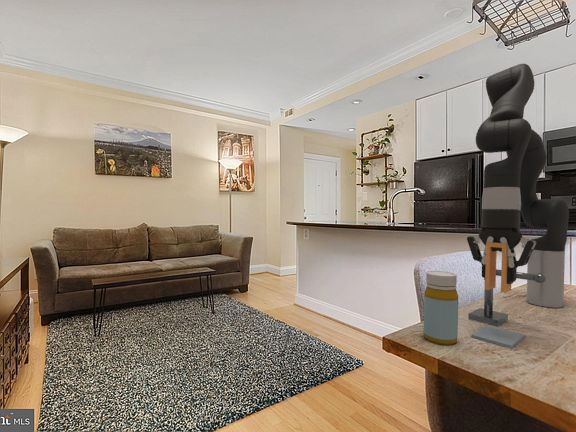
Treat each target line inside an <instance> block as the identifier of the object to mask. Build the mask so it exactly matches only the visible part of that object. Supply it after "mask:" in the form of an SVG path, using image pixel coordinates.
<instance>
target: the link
mask: <svg viewBox="0 0 576 432" xmlns="http://www.w3.org/2000/svg"><path fill="white" fill-rule="evenodd" d="M491 247H498V248H502V252H501V269H500V270H501V276H500V293H503V294H505V293H508V292H510V291H512V284H507V268H508V263H507V244H505V243H496V242H493V243H492V242H486V271H485V280H484V289H485V290H490V289H493V290H494V289H495V288H496V284H497V283H496V281H497V280H496V279H497V278H496V277H497V275H496V269H497V252H498V251H492V248H491Z"/></svg>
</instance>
